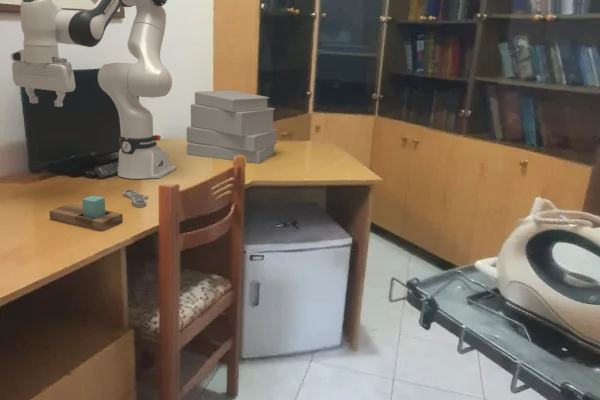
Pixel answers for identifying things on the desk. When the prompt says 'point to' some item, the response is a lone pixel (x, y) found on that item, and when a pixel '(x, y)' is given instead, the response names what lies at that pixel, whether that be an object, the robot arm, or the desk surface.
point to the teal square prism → (93, 207)
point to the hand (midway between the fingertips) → (46, 104)
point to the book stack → (231, 126)
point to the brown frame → (75, 216)
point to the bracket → (136, 198)
